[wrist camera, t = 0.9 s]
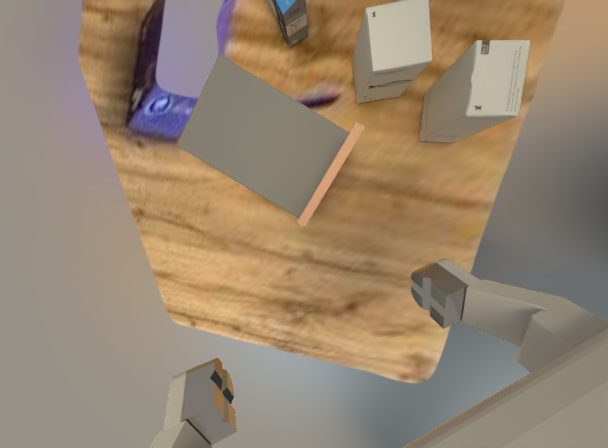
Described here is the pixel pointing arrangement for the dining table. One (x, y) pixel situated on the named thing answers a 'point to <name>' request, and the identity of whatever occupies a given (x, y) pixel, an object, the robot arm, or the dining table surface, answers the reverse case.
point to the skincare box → (476, 91)
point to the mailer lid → (266, 139)
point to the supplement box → (391, 49)
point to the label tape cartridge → (290, 19)
